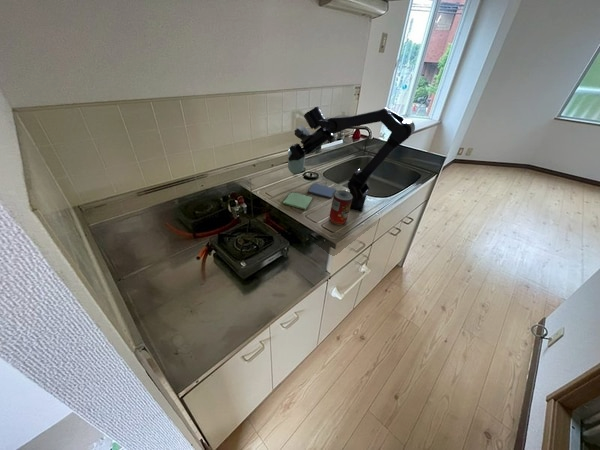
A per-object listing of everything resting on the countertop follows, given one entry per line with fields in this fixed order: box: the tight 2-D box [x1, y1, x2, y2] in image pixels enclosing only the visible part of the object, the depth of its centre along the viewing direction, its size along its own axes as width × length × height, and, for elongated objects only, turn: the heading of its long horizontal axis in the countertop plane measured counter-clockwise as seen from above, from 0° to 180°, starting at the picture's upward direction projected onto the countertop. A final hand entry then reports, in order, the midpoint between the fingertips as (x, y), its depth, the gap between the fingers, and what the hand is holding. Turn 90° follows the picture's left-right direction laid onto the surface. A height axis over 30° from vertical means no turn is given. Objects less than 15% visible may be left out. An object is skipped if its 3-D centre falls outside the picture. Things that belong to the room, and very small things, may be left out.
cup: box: [287, 148, 306, 174], centre depth 110 cm, size 8×8×10 cm
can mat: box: [307, 183, 336, 199], centre depth 113 cm, size 11×9×1 cm
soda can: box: [329, 189, 353, 226], centre depth 91 cm, size 7×7×12 cm
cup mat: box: [282, 191, 313, 211], centre depth 103 cm, size 10×10×1 cm
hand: (293, 157), depth 110 cm, fingers closed on cup, 8 cm apart
